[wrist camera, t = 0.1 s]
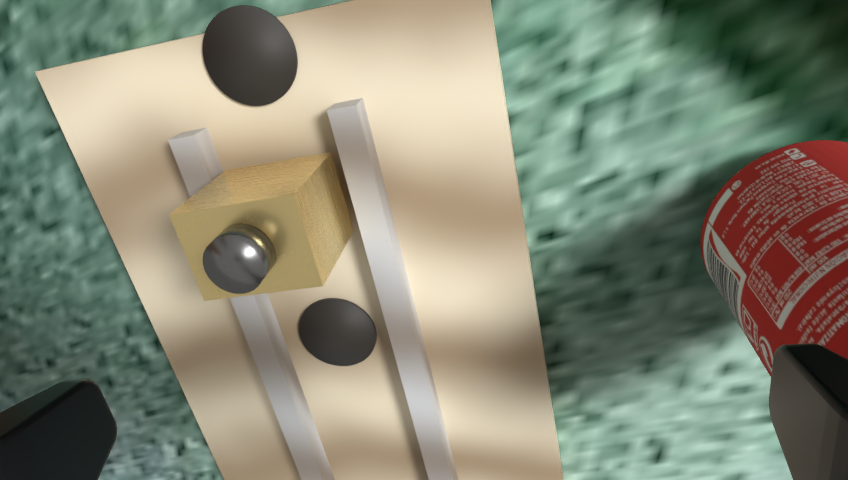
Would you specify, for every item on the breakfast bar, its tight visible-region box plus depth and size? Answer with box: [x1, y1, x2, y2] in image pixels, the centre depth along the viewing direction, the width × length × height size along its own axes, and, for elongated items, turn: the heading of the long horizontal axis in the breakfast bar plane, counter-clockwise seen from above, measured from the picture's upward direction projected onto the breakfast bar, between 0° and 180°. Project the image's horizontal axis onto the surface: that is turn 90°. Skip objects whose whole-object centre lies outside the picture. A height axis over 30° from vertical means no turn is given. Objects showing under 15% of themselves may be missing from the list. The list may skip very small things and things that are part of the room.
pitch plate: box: [35, 0, 564, 480], centre depth 23 cm, size 27×16×6 cm, turn 12°
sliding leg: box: [169, 152, 354, 301], centre depth 19 cm, size 3×4×5 cm
